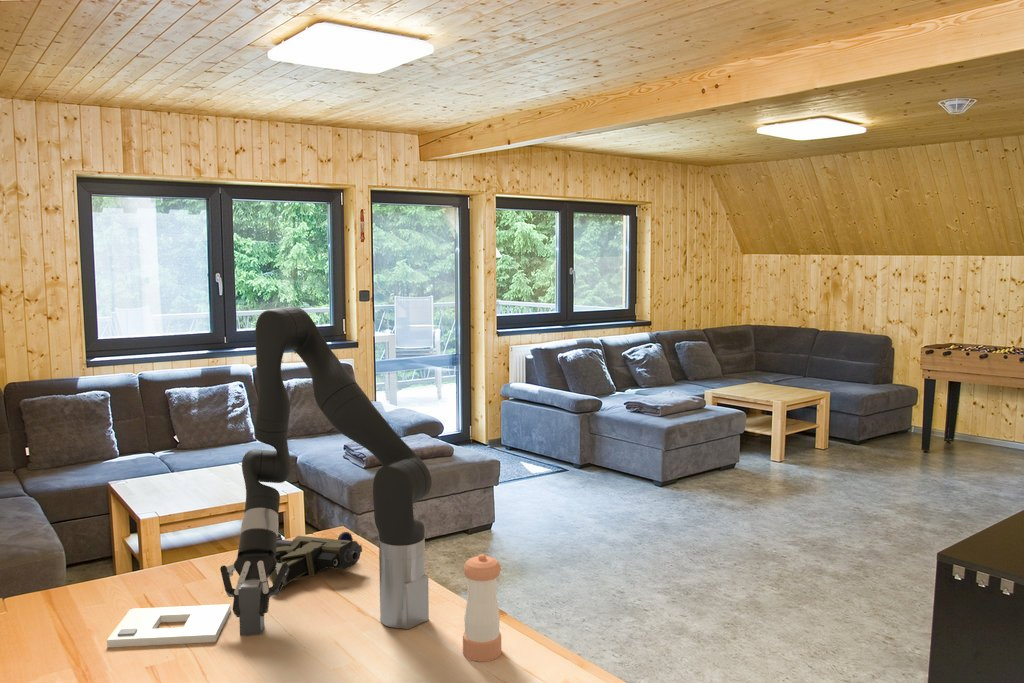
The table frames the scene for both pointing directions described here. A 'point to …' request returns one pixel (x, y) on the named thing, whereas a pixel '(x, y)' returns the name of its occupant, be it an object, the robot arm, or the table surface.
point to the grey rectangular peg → (250, 607)
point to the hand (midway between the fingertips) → (250, 615)
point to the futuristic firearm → (315, 555)
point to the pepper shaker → (482, 610)
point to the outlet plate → (144, 631)
